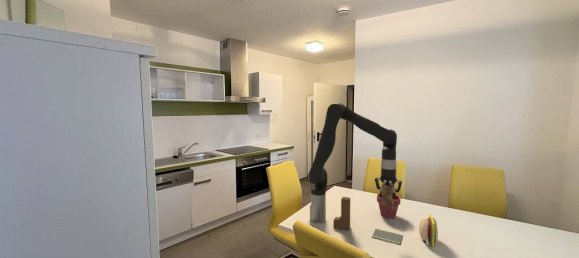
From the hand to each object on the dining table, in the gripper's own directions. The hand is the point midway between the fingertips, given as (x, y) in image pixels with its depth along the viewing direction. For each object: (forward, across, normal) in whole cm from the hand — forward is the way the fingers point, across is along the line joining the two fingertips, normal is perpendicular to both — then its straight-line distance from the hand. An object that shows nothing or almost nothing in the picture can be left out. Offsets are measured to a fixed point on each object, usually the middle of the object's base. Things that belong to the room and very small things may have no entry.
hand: (387, 197), depth 130 cm
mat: (+22, 0, 0) cm, 22 cm away
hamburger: (+22, +19, +7) cm, 30 cm away
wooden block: (+22, -25, -2) cm, 33 cm away
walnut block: (+3, 0, 0) cm, 3 cm away
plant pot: (+22, -4, +28) cm, 36 cm away
